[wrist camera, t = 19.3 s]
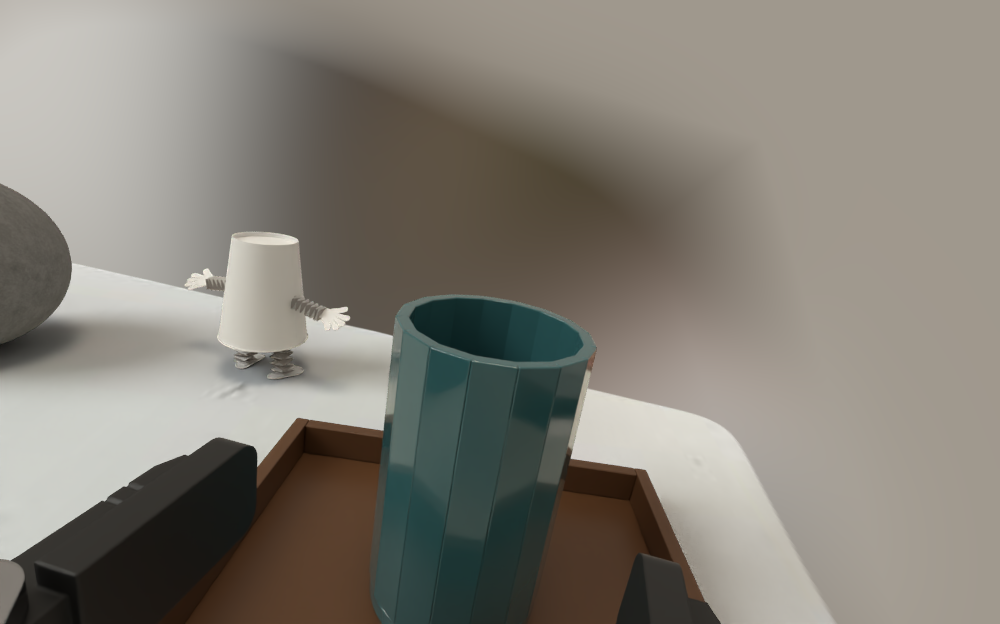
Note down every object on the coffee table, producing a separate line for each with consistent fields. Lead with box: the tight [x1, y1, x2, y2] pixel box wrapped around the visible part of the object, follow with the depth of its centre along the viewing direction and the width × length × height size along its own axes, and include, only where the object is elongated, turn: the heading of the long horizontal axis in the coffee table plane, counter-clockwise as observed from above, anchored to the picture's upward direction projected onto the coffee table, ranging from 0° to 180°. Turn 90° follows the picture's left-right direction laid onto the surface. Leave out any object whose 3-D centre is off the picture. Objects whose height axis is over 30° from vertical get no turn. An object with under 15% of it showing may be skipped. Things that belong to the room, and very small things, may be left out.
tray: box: [158, 418, 705, 624], centre depth 18 cm, size 17×13×2 cm
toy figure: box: [185, 232, 350, 379], centre depth 30 cm, size 12×6×8 cm, turn 72°
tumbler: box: [369, 295, 597, 624], centre depth 16 cm, size 6×6×10 cm
